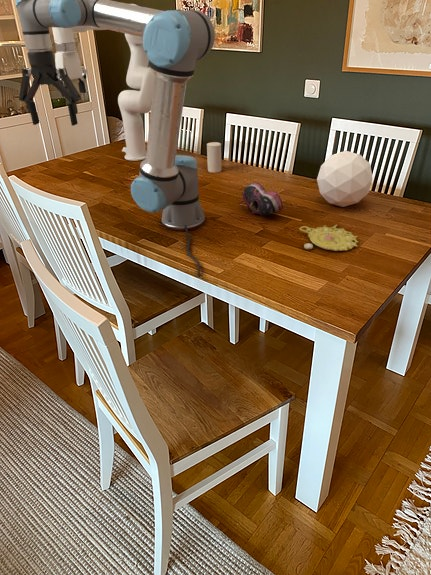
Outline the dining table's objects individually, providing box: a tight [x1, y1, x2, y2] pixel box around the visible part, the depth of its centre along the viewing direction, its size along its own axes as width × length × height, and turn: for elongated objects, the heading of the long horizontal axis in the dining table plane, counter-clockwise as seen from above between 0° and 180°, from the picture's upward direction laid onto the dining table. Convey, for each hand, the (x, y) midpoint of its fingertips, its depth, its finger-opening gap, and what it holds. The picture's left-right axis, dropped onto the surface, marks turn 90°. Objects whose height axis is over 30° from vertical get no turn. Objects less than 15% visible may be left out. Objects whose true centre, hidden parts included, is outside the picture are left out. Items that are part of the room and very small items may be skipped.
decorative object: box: [299, 224, 359, 252], centre depth 141 cm, size 21×2×20 cm
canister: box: [206, 141, 222, 174], centre depth 201 cm, size 6×6×12 cm
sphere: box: [316, 150, 374, 208], centre depth 161 cm, size 19×20×20 cm
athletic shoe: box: [238, 182, 284, 217], centre depth 160 cm, size 11×22×12 cm
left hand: (74, 94), depth 184 cm, fingers open, 9 cm apart
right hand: (55, 124), depth 144 cm, fingers open, 13 cm apart
